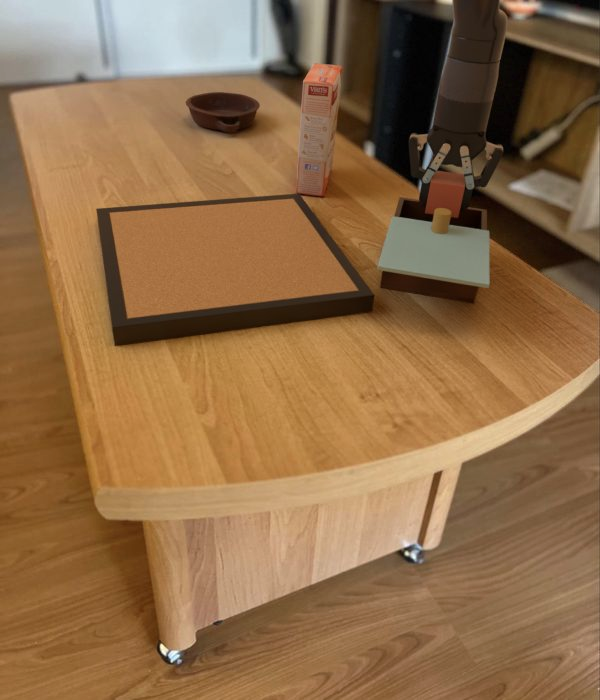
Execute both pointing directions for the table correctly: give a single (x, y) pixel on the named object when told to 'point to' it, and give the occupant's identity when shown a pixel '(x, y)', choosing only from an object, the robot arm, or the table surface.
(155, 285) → the cork board
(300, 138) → the cracker box
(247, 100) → the dish
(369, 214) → the table surface
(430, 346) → the table surface
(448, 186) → the block
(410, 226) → the glass top
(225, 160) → the table surface
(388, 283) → the case
